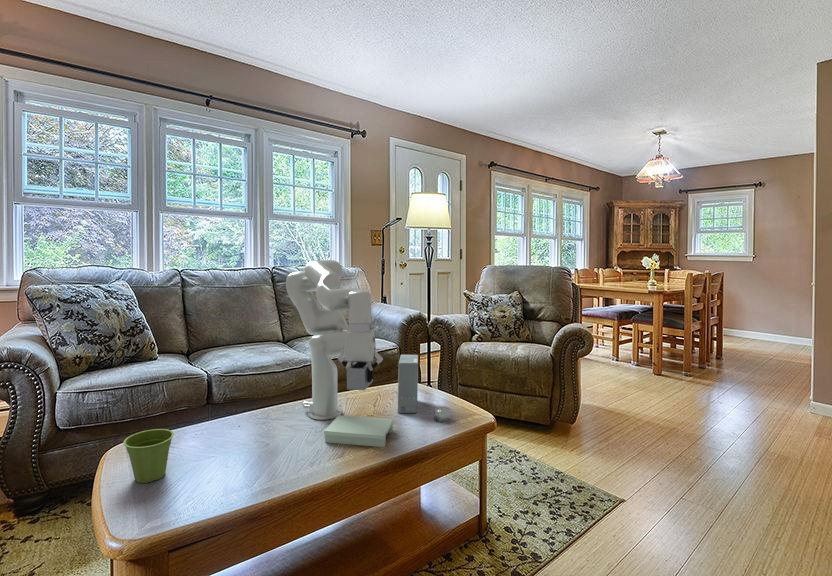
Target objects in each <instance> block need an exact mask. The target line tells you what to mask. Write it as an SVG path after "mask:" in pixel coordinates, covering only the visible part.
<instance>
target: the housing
mask: <svg viewBox="0 0 832 576" xmlns="http://www.w3.org/2000/svg"><path fill="white" fill-rule="evenodd" d="M368 370H369V368H368V365H367V363H366V362H353V364H351V365H350V366H349V367H348V368H347V369H346V390H352V391H353V390H354V391H366V390H367V389H368V387H369V386H370V385H371V384H372V383H373V381H374V378H373V379H372V381H371V382H368Z"/></svg>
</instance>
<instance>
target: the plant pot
mask: <svg viewBox="0 0 832 576" xmlns="http://www.w3.org/2000/svg"><path fill="white" fill-rule="evenodd" d="M174 436H175V432H174V431H173V430H170V429H166V428H156V429H155V428H153V429H148V430H143V431H142V430H141V431H139V432H136V433H134V434H131V435H130V436H127V437H126V438H125V439H124V440H123V444H122V445H123V446H124V447H125V448H126V451H127V453H128V456H129V461H130V465H131V468H132V474H133V477H134V480H135V481H136V482H137V483H139V484H148V482H149V483H151V482H153V481H158V480H160V479H162V478H163V477H165V475H166V471H167V465H168V459H169V452H170V446H171V444H172V440H173V439H172V438H173V437H174Z"/></svg>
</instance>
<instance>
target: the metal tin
mask: <svg viewBox="0 0 832 576" xmlns="http://www.w3.org/2000/svg"><path fill="white" fill-rule="evenodd" d="M433 413H434V414H433V420H434V421H435V422H436V423H437V422H438V423H440V424H441V423H443V422H446V423H449V422H451V408H449V407H447V406H437V407H435V408H434V410H433ZM448 421H449V422H448ZM443 424H444V423H443Z"/></svg>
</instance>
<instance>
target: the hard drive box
mask: <svg viewBox="0 0 832 576" xmlns="http://www.w3.org/2000/svg"><path fill="white" fill-rule="evenodd" d="M397 374H398V376H397V413H400V414H417V413H418V396H419V394H418V393H419V392H418V387H419V386H418V385H419V354H400V355H399V360H398V373H397Z"/></svg>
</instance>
